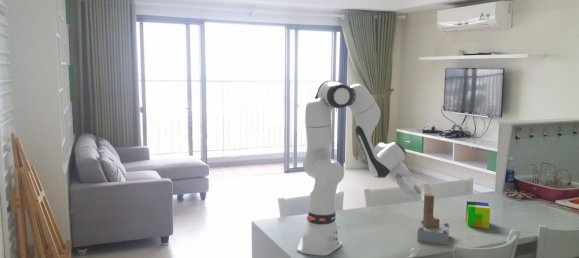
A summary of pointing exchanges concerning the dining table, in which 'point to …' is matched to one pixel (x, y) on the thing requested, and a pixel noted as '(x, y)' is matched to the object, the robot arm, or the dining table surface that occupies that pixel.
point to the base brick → (434, 233)
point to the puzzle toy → (477, 214)
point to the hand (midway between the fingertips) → (419, 195)
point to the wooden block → (429, 212)
